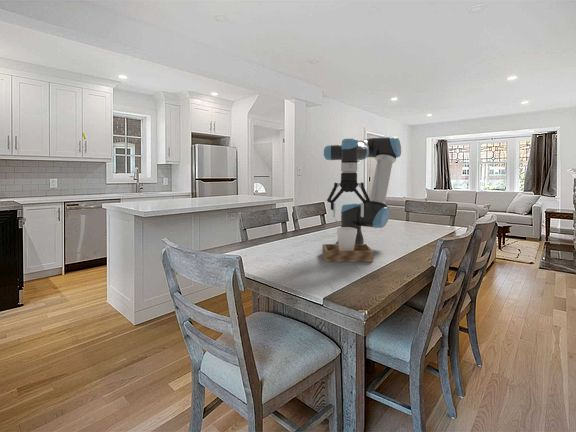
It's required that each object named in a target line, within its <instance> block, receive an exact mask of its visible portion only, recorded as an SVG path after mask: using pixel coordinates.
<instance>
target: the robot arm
mask: <svg viewBox="0 0 576 432" xmlns="http://www.w3.org/2000/svg"><path fill="white" fill-rule="evenodd" d="M401 144H402V143H401V141H400V139H399V137H397V136H386V137H382V136H381V137H369V138H365V139H361V140H359V139H357V138H344V139H342V140H341V144H331V145H326V146H325V147H324V149H323V157H324V159H325V160H326V161H341V164H340V172H341V173H340V182H339V183H338V182H334V183H333V188H332V189H331V190H330V191H331V192H330V194H329V196H328V197H327V199H326V201H327V203H330V210H331V211H332V217H333V218H336V203H335V202H336V201H337V200H338V198H340V197H341V195H342V194H343V193H344V192H345V193H352V192H354V194H355V195H356V196H357V197H358V198H359V200H361V202H356V203H355V202H354V203H345V204H342V206H341V209H340V210H341V211H340V227H351V228H356V229H357V234H356V240H355V244H365V241H364V236H363V232H362V227H364V228H374V229H383V228H385V226H387V224H388V221H389V219H390V209H389V208H388V205H387V203H386V200H387V199H386V198H387V194H388V188H389V183H390V177H391V173H392V167H393V164H394V163H396V161H397V158H400V157H401V156H402V145H401ZM367 158H374V159H375V160H376V166H375V170H374V171H375V172H374V176H373V181H372V186H371V190H370V195H369V194H368V193H367V191H366V189H365V182H358V173H357V172H358V161H363V160H366V159H367ZM339 187H340V189H339V191H338V192H337V193H336V190H337V189H338V188H339ZM357 187H359V188H360V190H361V192H362V194H363V196H364V197H363V196H362V194H361V193H360V192H359V191H358V189H357ZM335 193H336V194H335ZM333 196H334V197H333Z"/></svg>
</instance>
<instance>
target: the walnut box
mask: <svg viewBox="0 0 576 432" xmlns="http://www.w3.org/2000/svg"><path fill="white" fill-rule="evenodd" d="M321 252H322V253H321V254H322V256H323V258H324V261H325V262H327V263H328V262H329V263H330V262H332V263H333V262H335V263H336V262H337V263H338V262H339V263H341V262H350V263H351V262H353V263H356V262H358V263H359V262H360V263H363V262H364V263H365V262H366V263H367V262H369V263H370V262H371V263H372V262H374V250H373V249H372V248H370V246H368V245H367V244H366V243H363V244H355V246H354V251H339V243H322V251H321Z"/></svg>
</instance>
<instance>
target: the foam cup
mask: <svg viewBox="0 0 576 432" xmlns="http://www.w3.org/2000/svg"><path fill="white" fill-rule="evenodd" d="M336 234H337V244H339V251H354V246H355V240H356V234H357V229H356V228H351V227H341V226H340V227H337V228H336Z"/></svg>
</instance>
